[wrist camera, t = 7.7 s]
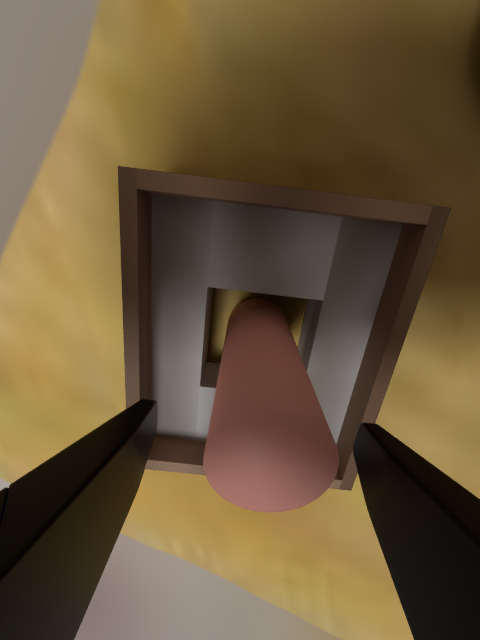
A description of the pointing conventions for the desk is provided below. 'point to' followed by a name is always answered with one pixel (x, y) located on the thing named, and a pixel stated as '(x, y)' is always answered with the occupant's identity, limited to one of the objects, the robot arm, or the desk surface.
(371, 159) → the desk surface
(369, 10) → the desk surface
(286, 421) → the peg
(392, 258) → the square frame
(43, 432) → the desk surface
